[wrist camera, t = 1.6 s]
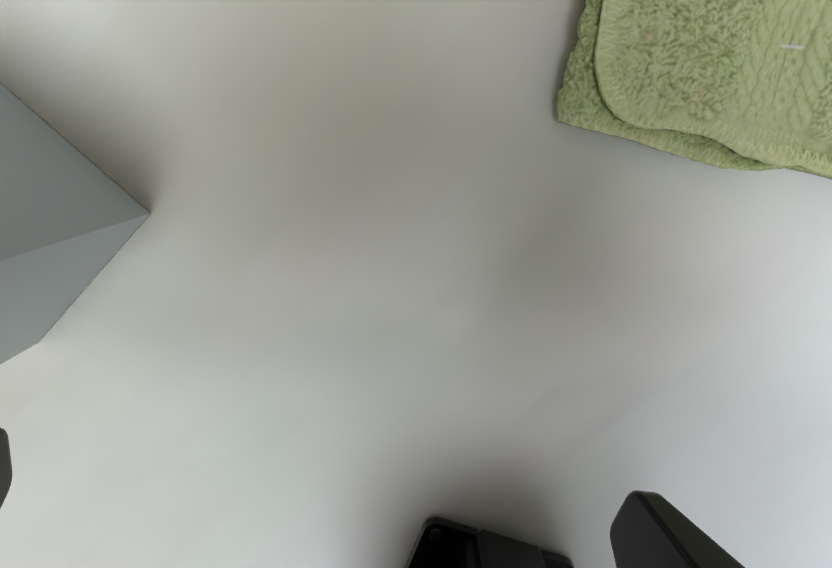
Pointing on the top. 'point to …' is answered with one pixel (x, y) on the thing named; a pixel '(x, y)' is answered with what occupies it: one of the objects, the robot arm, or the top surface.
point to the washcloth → (708, 79)
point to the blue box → (50, 224)
